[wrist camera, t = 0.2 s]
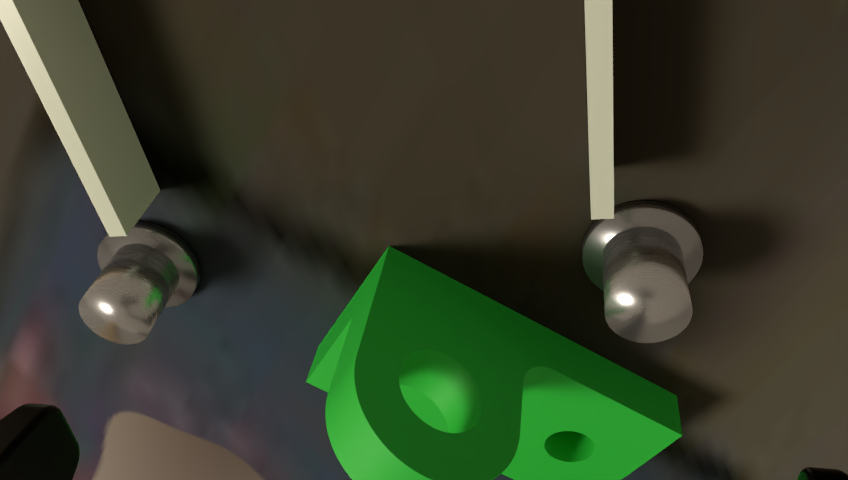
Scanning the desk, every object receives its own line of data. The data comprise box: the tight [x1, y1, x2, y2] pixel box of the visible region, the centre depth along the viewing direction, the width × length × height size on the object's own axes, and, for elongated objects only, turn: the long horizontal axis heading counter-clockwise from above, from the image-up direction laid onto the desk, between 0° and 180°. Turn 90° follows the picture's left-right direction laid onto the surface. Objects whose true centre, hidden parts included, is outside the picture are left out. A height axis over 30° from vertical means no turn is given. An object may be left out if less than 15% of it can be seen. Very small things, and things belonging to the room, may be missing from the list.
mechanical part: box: [306, 246, 683, 480], centre depth 26 cm, size 12×6×8 cm, turn 61°
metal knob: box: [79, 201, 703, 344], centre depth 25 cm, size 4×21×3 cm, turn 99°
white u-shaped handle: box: [0, 0, 614, 237], centre depth 20 cm, size 9×15×2 cm, turn 99°
